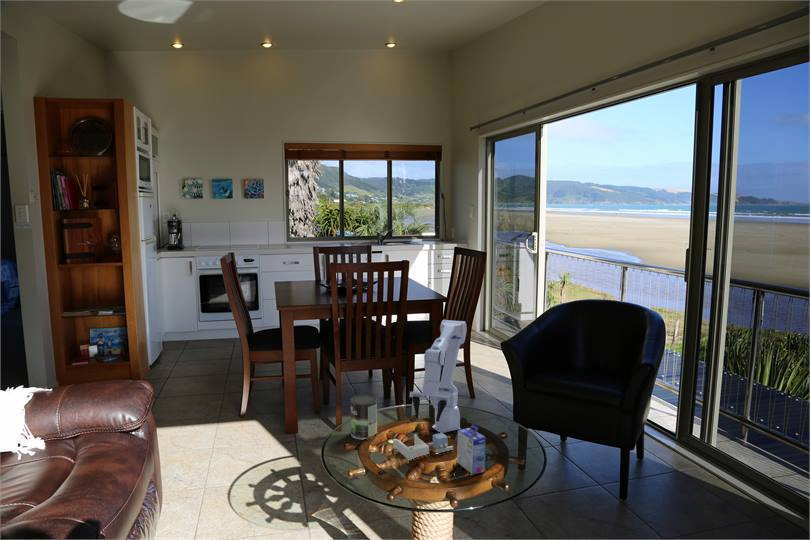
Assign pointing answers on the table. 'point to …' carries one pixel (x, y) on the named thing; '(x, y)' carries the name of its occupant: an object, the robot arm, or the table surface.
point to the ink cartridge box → (471, 450)
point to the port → (411, 448)
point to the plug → (440, 441)
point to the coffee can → (363, 416)
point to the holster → (441, 448)
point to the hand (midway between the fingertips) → (427, 420)
